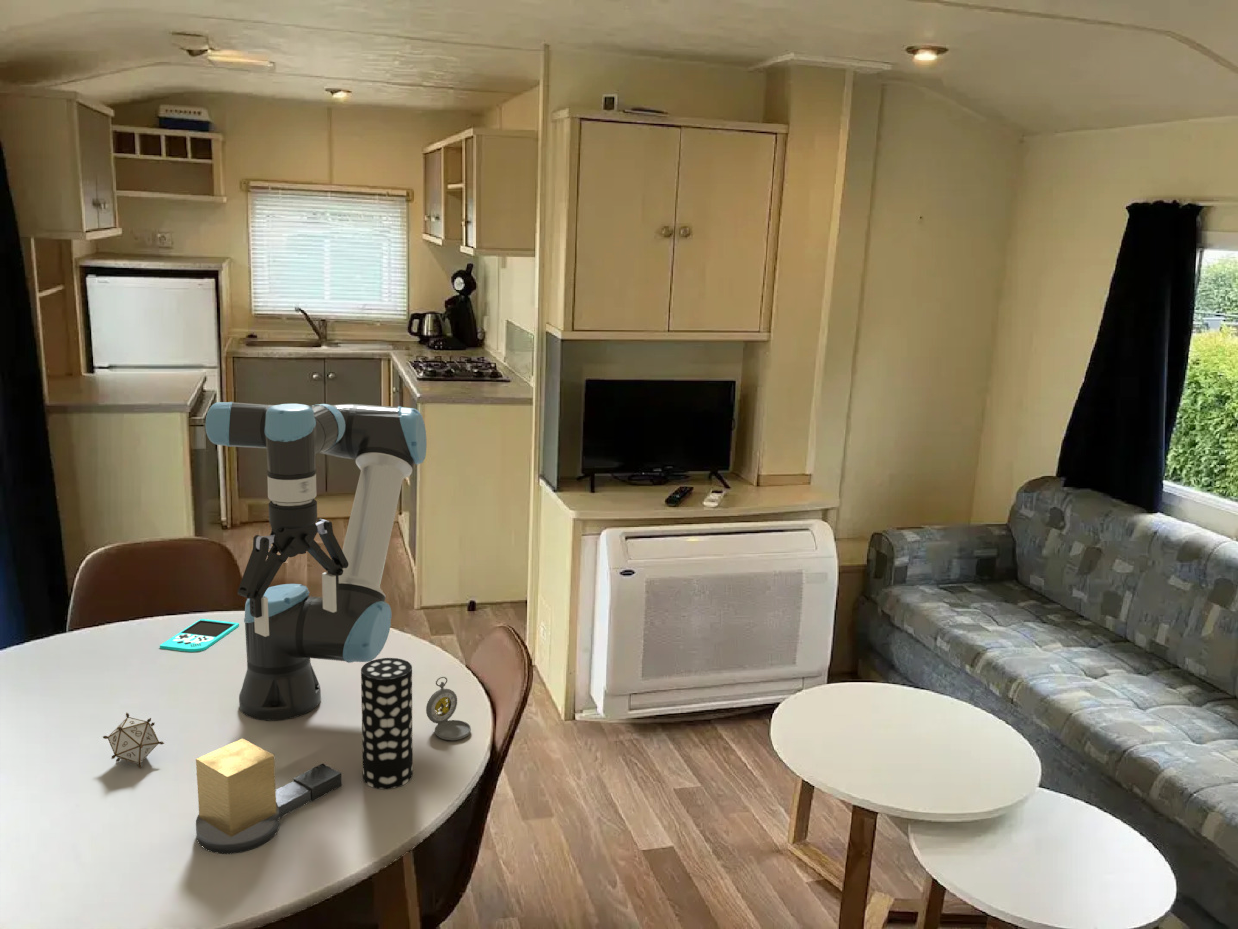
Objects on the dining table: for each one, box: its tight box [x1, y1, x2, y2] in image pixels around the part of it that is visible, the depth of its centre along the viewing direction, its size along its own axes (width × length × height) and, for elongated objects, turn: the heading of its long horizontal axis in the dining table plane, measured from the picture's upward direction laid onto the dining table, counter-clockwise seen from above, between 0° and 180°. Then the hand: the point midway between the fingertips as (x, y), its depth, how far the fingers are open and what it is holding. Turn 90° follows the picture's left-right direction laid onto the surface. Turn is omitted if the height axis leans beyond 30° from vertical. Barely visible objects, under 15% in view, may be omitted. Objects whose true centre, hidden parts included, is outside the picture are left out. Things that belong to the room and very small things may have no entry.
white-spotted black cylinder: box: [360, 657, 414, 790], centre depth 168 cm, size 8×8×20 cm
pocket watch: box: [425, 676, 472, 741], centre depth 186 cm, size 8×8×10 cm
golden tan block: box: [195, 738, 277, 837], centre depth 152 cm, size 8×8×10 cm
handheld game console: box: [159, 618, 240, 653], centre depth 223 cm, size 10×16×1 cm, turn 170°
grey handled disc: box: [195, 763, 343, 855], centre depth 158 cm, size 24×12×8 cm, turn 145°
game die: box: [102, 712, 165, 769], centre depth 171 cm, size 9×8×10 cm
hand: (297, 621), depth 167 cm, fingers open, 13 cm apart
